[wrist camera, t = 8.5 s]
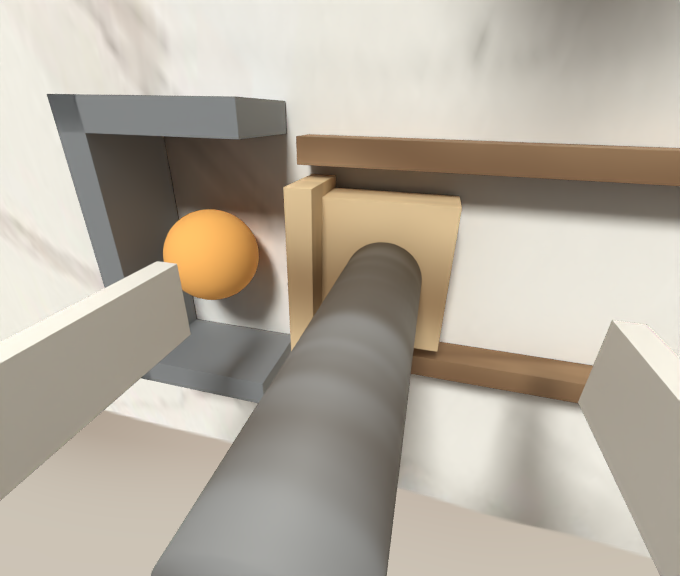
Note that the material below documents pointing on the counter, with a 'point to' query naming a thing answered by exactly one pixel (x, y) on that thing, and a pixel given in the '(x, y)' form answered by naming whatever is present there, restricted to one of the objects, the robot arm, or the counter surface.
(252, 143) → the counter surface
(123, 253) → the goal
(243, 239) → the ball
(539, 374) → the rails
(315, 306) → the carriage
